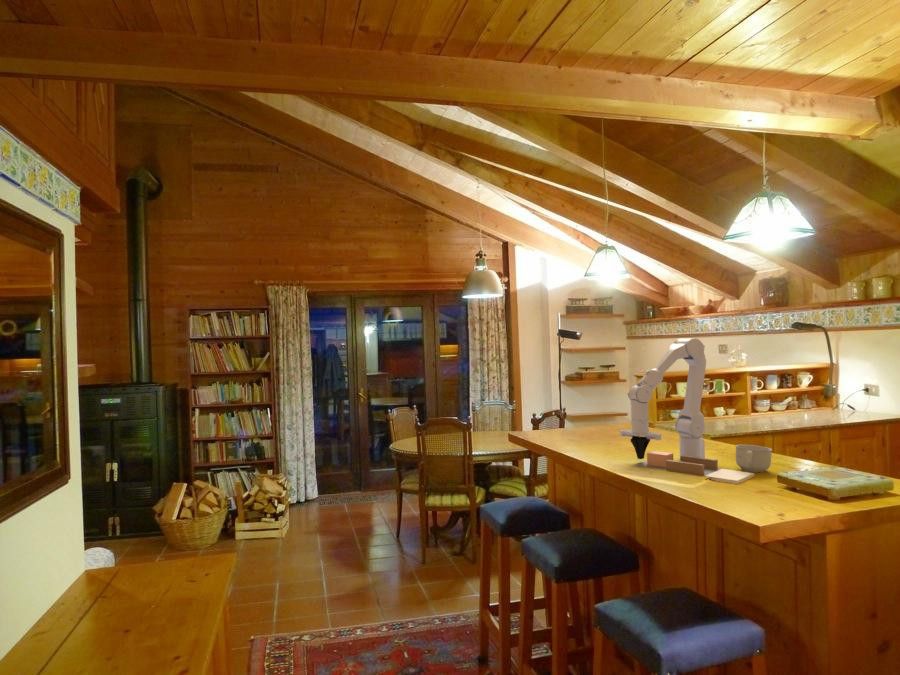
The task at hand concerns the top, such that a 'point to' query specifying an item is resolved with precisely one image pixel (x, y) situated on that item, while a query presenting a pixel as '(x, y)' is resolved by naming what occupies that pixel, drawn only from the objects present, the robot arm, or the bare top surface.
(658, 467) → the tunnel board
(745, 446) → the teacup
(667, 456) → the terracotta block
